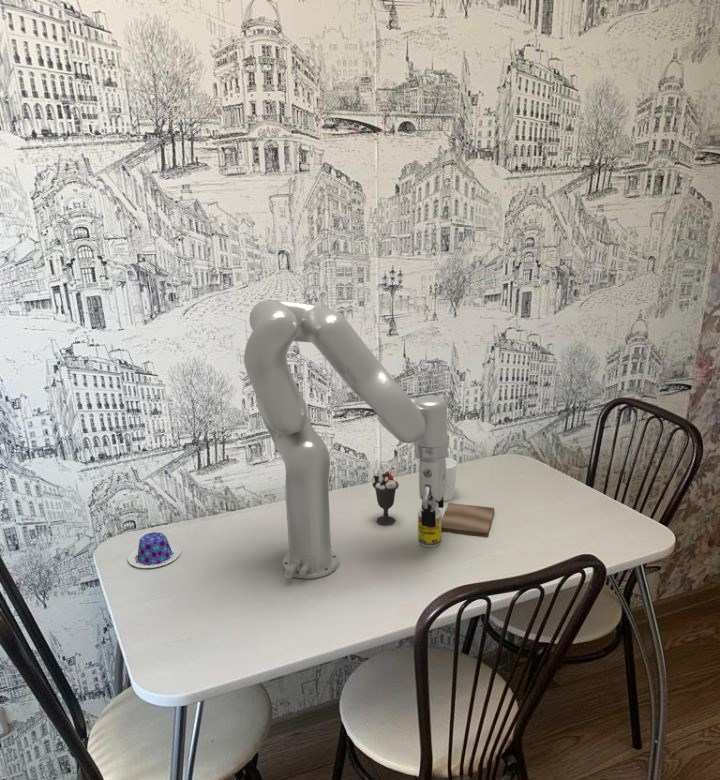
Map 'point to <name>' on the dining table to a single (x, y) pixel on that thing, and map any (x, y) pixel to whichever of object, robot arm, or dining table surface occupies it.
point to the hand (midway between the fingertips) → (432, 516)
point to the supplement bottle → (430, 529)
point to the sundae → (385, 495)
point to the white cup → (450, 479)
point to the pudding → (154, 550)
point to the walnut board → (467, 519)
